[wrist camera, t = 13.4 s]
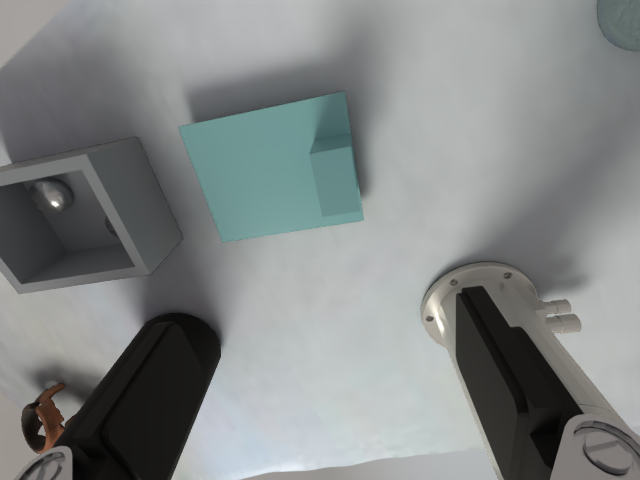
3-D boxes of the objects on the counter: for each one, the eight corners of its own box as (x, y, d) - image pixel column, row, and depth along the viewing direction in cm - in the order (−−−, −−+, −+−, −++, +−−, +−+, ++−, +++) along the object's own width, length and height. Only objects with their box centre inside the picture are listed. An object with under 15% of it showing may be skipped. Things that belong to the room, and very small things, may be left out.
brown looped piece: (84, 424, 54) (23, 459, 47) (74, 369, 54) (11, 395, 46) (130, 432, 49) (70, 472, 42) (120, 371, 49) (57, 401, 41)
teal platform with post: (344, 89, 28) (346, 96, 21) (362, 210, 33) (368, 246, 26) (190, 122, 30) (147, 138, 23) (229, 231, 35) (204, 269, 28)
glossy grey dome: (63, 174, 31) (50, 179, 30) (80, 204, 33) (69, 211, 31) (35, 180, 32) (21, 185, 30) (53, 210, 33) (41, 216, 32)
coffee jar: (127, 320, 41) (-4, 476, 26) (197, 299, 39) (101, 456, 23) (173, 374, 46) (86, 535, 30) (238, 358, 44) (181, 523, 28)
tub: (137, 136, 30) (85, 154, 24) (183, 238, 35) (150, 274, 29) (11, 163, 32) (-67, 186, 26) (71, 256, 37) (18, 294, 31)
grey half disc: (137, 202, 32) (128, 208, 31) (151, 230, 34) (142, 237, 32) (109, 207, 33) (98, 213, 31) (124, 235, 34) (114, 242, 33)
